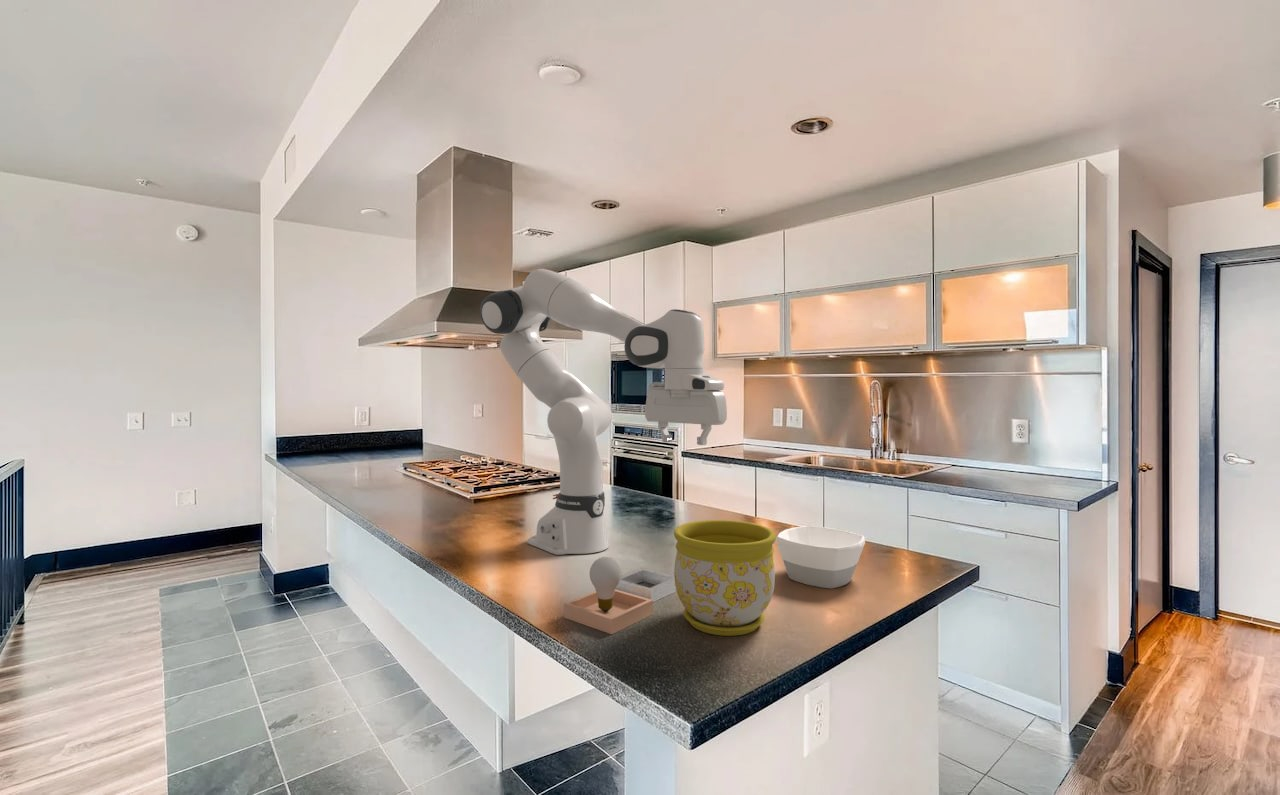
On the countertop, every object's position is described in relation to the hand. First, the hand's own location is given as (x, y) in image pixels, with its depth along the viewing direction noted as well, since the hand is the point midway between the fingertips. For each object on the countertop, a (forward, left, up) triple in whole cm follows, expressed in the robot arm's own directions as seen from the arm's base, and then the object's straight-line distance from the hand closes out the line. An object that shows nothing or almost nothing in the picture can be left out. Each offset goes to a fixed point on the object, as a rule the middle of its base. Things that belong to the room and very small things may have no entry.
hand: (684, 443), depth 136 cm
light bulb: (+3, -30, -29) cm, 42 cm away
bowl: (+26, +15, -29) cm, 42 cm away
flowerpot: (+22, -19, -29) cm, 41 cm away
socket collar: (+1, -15, -29) cm, 33 cm away
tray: (+4, -30, -29) cm, 42 cm away
